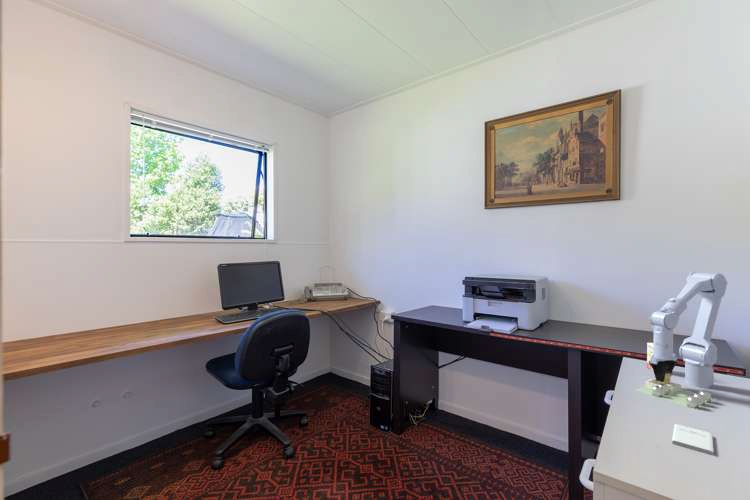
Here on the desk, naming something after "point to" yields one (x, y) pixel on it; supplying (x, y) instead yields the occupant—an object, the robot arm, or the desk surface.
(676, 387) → the tray
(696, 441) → the external hard drive
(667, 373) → the nut
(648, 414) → the desk surface
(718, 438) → the desk surface
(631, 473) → the desk surface
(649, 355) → the ink cartridge box
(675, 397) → the mat
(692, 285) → the robot arm
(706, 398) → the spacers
